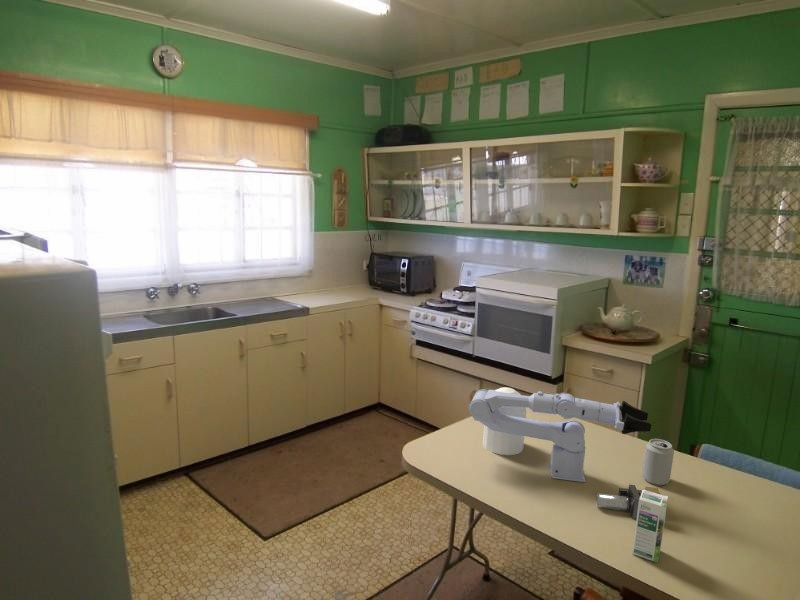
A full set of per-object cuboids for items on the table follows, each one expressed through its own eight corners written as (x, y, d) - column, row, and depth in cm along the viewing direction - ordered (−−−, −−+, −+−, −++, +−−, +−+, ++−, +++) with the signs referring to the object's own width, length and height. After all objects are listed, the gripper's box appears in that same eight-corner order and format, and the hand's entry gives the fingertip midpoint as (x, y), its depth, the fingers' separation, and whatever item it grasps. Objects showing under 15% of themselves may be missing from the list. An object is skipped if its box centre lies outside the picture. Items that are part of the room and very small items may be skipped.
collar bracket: (625, 517, 142) (628, 498, 141) (617, 497, 152) (620, 478, 151) (666, 523, 140) (669, 503, 139) (655, 502, 150) (658, 483, 149)
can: (672, 488, 157) (678, 450, 155) (644, 484, 159) (650, 447, 156) (665, 475, 164) (670, 438, 162) (639, 472, 166) (644, 435, 163)
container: (474, 445, 179) (478, 388, 175) (495, 432, 189) (499, 378, 185) (510, 459, 171) (515, 400, 167) (530, 445, 181) (535, 388, 177)
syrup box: (631, 554, 128) (638, 499, 125) (635, 541, 133) (642, 487, 130) (657, 563, 125) (666, 507, 122) (660, 549, 130) (668, 495, 127)
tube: (598, 510, 145) (600, 497, 144) (596, 502, 149) (597, 490, 148) (646, 516, 143) (647, 503, 142) (642, 508, 146) (644, 496, 146)
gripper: (601, 408, 149) (655, 419, 145) (600, 390, 163) (648, 399, 159) (597, 432, 151) (650, 443, 147) (596, 412, 164) (644, 421, 161)
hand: (649, 422), depth 153 cm, fingers open, 7 cm apart
